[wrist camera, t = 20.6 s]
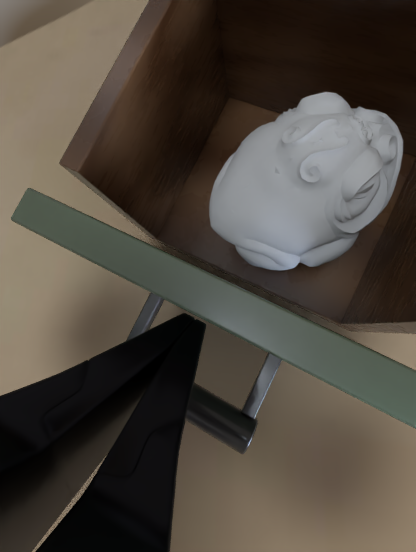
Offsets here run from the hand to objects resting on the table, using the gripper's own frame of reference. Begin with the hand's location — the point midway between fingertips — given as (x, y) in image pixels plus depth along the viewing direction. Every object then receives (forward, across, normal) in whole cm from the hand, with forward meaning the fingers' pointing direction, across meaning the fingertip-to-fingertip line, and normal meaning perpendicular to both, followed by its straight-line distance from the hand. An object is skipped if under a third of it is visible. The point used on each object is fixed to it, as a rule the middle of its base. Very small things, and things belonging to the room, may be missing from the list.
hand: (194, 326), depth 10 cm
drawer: (+8, 0, +2) cm, 8 cm away
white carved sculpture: (+9, -1, 0) cm, 9 cm away
